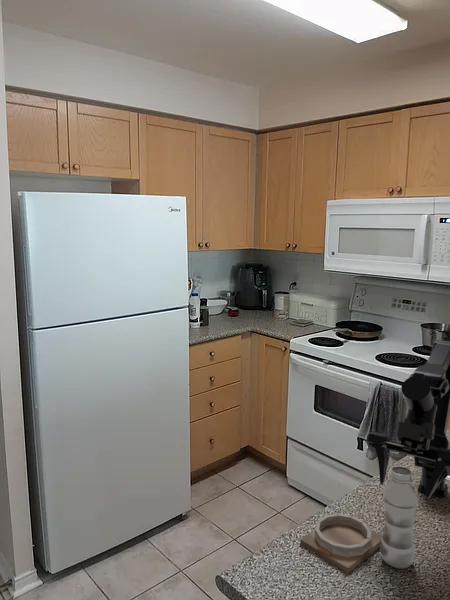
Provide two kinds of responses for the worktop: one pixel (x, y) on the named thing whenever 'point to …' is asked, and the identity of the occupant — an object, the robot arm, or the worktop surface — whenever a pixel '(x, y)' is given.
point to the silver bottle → (399, 519)
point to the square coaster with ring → (342, 540)
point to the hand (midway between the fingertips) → (404, 490)
